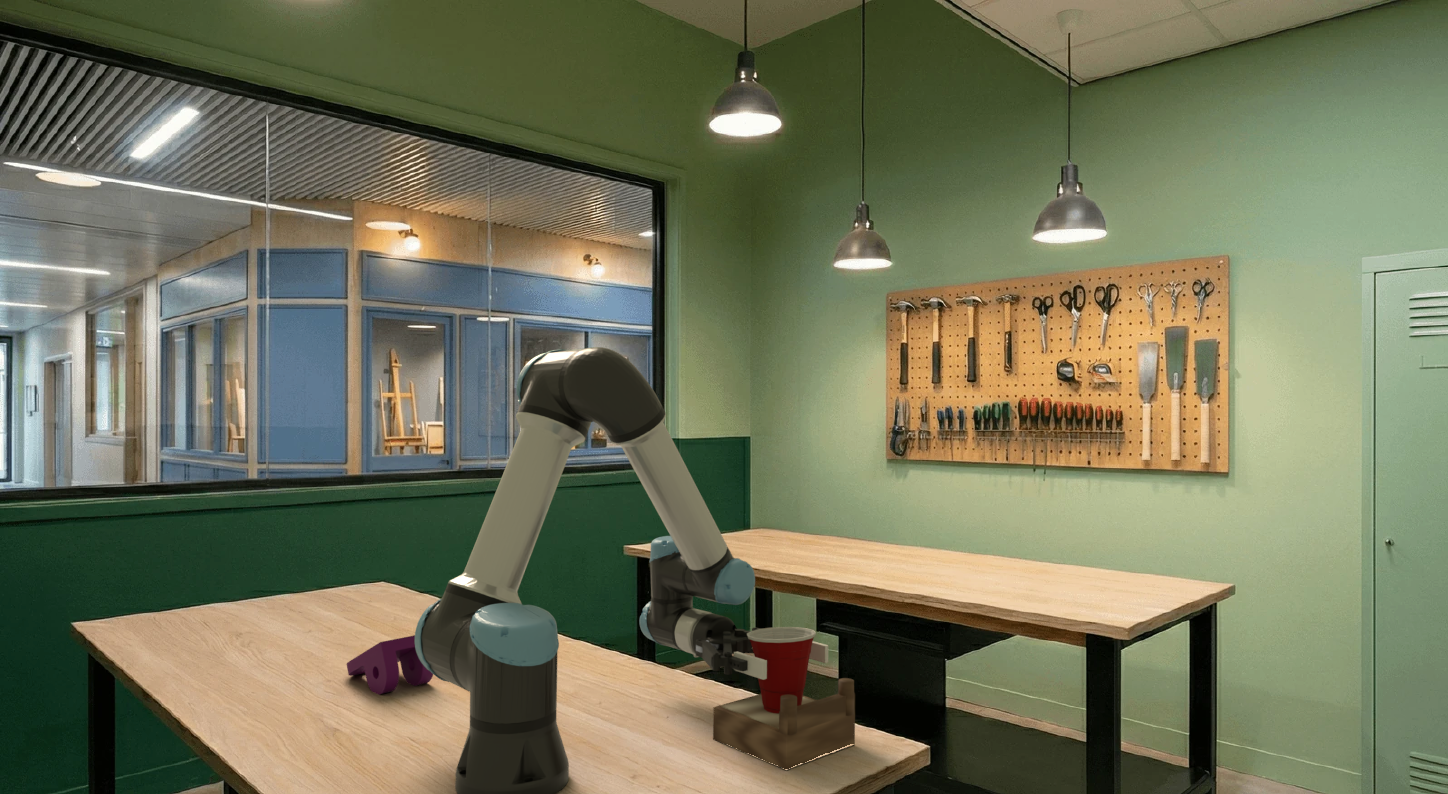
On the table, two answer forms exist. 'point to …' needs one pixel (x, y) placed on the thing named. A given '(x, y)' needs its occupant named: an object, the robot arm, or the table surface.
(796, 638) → the plastic cup
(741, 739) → the walnut stand
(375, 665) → the mounting bracket
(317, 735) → the table surface
